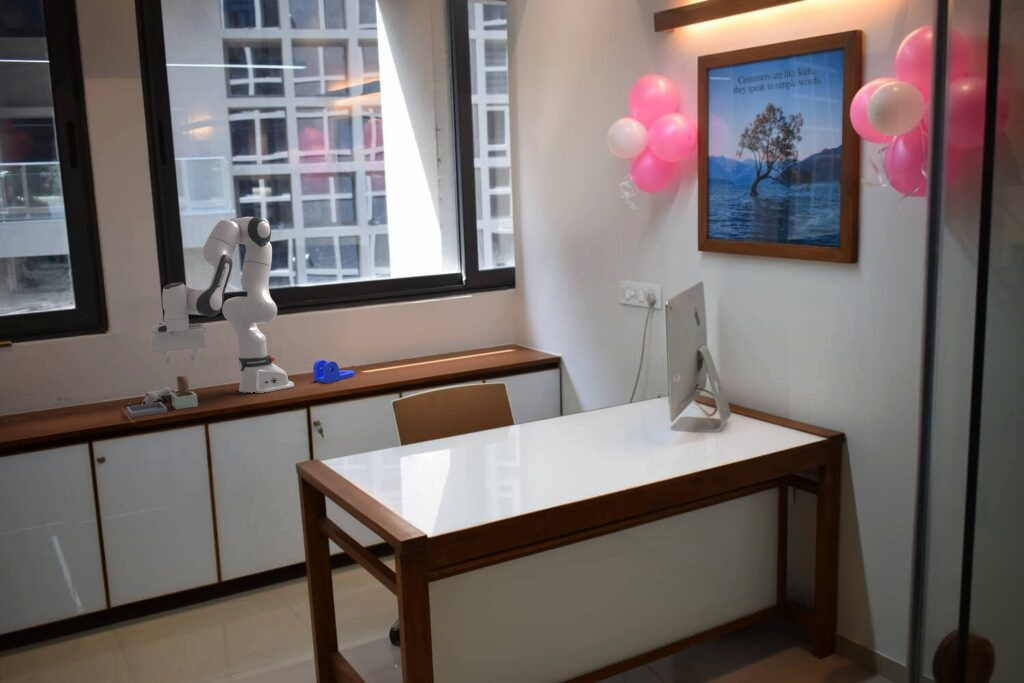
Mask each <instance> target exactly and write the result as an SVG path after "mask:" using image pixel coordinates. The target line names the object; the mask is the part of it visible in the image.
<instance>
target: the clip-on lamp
mask: <svg viewBox="0 0 1024 683" xmlns="http://www.w3.org/2000/svg"><path fill="white" fill-rule="evenodd" d="M176 393H178V390H177V391H175V390H173V389H172V390H171V388H170V387H168V386H164V387H162V388H158V389H157V390H154V391H153V390H150V391H148V392H146V393H145V396H144V399H143V400H142V402H141V404H140V405H144V403H145V404H151V403H157V402H158V400H161V401H162V402H161V403H162V404H164V403H166V404H169V403H172V396H171V394H176ZM128 404H129V407H130V406H137V405H136V404H134V403H133V402H128Z"/></svg>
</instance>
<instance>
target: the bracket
mask: <svg viewBox="0 0 1024 683" xmlns="http://www.w3.org/2000/svg"><path fill="white" fill-rule="evenodd" d="M312 368H313V370H312V371H313V381H317V383H321V382H324V383H323V384H330V383H329V382H331V383H334V382H333V381H335V382H338V381H337V380H339V381H342V380H341V379H343V380H346V379H345V378H347V379H350V377H351V378H353V376H354V377H355V371H354V370H349V369H347V370H345V369H344V370H340V368H339V364H338V363H337V362H335V361H331V360H329V361H326V360H322V359H318V360H317V361H315V362H314V364H313V367H312Z"/></svg>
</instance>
